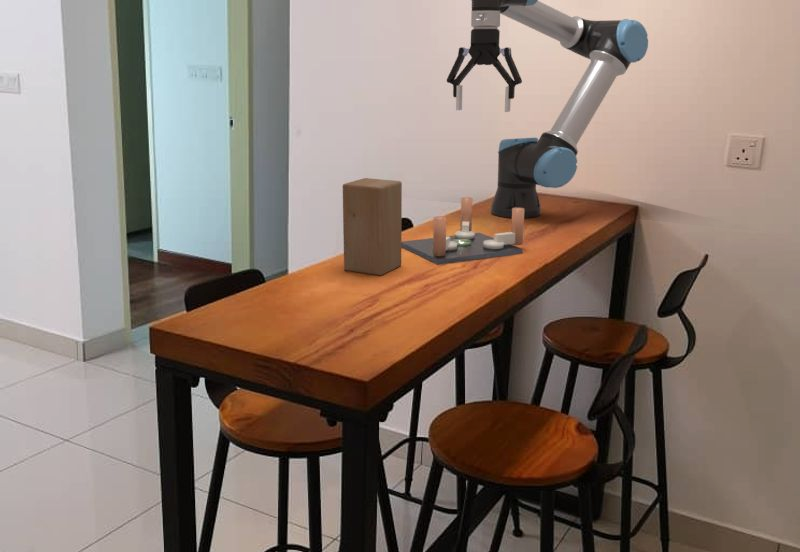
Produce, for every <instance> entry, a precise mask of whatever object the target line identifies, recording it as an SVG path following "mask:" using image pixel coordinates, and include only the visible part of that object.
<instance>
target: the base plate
mask: <svg viewBox="0 0 800 552" xmlns="http://www.w3.org/2000/svg"><path fill="white" fill-rule="evenodd" d="M474 233H475V238H473V239H458V238H456V237H455V235H446V237H450V241H454V242H457V249H455V250H446V255H445V256H434V255H433V237H430V238H421V239H413V240H404V241H402V240H401V249H402V248H403V249H405V250H407V251H409V252H410V253H413V254H414V255H417V256H420V257H421V258H423V259H425V260H427V261H429V262H432V263H434V264H435V265H439V266H440V265H445V264H446V265H447V264H453V263H461V262H469V261H475V260H483V259H484V260H485V259H489V258H490V259H492V258H498V257H505V256H507V257H508V256H513V255H520V254H521V255H522V254H523V250H524V249H523V248H521V247H519V246H518V245H512V244H507V245H504V247H503V248H501V249H488V248H484V247H483V242H484V241H485V240H494V236H493V237H492V236H490V235H487V234H484V233H481V232H474Z"/></svg>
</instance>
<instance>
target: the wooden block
mask: <svg viewBox="0 0 800 552" xmlns="http://www.w3.org/2000/svg"><path fill="white" fill-rule="evenodd" d="M402 186H403V185H402V181H400V180H392V179H391V180H390V179H379V178H369V177H365V178H360V179H357V180H353V181H350V182H345V183H343V184H342V218H343V220H342V224H343V227H342V229H343V231H342V233H343V269H344V271H346V272H347V271H348V272H355V273H361V274H369V275H375V276H384V275H385V274H387V273H390V272H391V271H393V270H395V269H397V268H400V267H401V266H402V247H401V242H402V231H403V229H402V224H403V223H402V213H403V210H402V202H403V201H402V200H403V199H402V195H403V194H402V193H403V191H402V190H403V189H402Z"/></svg>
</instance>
